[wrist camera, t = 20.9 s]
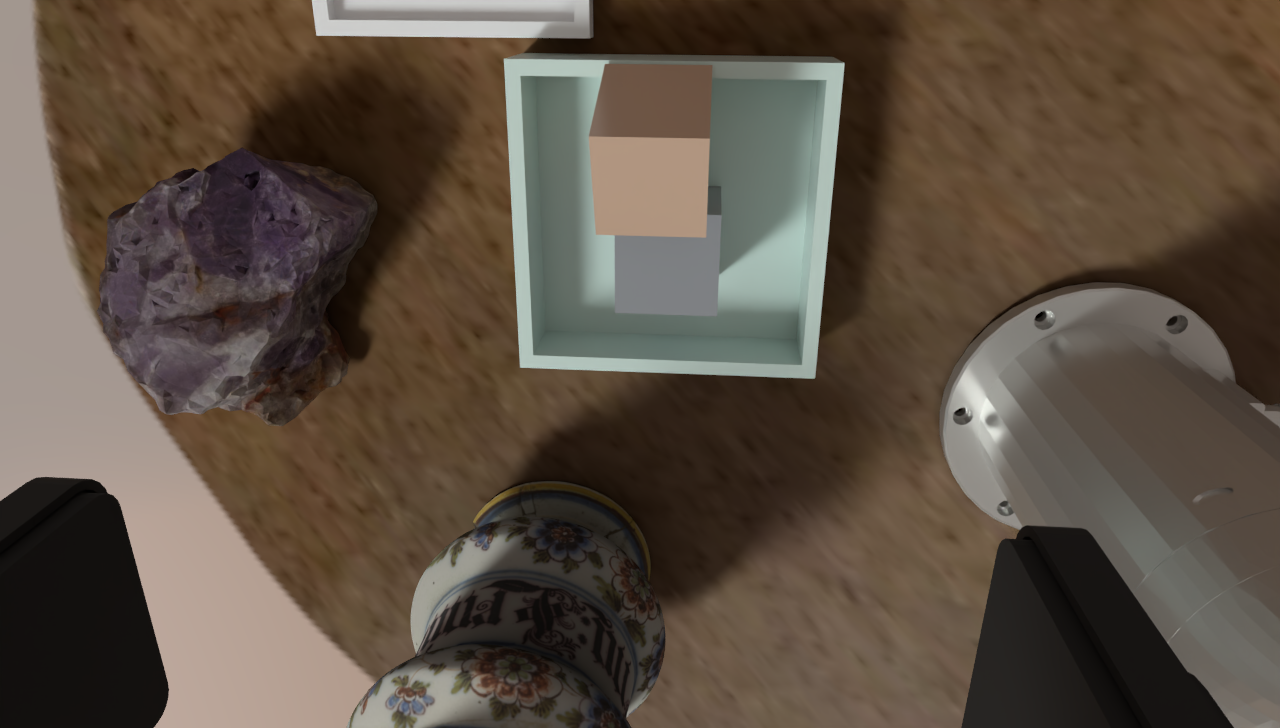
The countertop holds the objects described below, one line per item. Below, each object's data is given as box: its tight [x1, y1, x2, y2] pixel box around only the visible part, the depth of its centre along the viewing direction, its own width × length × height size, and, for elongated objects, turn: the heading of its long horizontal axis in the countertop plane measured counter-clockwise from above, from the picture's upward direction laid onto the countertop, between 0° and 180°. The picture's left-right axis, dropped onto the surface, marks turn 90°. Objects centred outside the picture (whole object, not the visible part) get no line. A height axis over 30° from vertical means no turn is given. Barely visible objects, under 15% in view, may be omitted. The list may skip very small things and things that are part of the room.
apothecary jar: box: [347, 481, 665, 728], centre depth 38 cm, size 12×12×18 cm
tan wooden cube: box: [589, 64, 712, 238], centre depth 32 cm, size 4×4×5 cm
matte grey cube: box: [615, 186, 722, 317], centre depth 35 cm, size 4×4×5 cm
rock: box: [97, 148, 377, 426], centre depth 37 cm, size 12×9×10 cm
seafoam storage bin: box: [504, 53, 845, 379], centre depth 36 cm, size 13×13×4 cm
